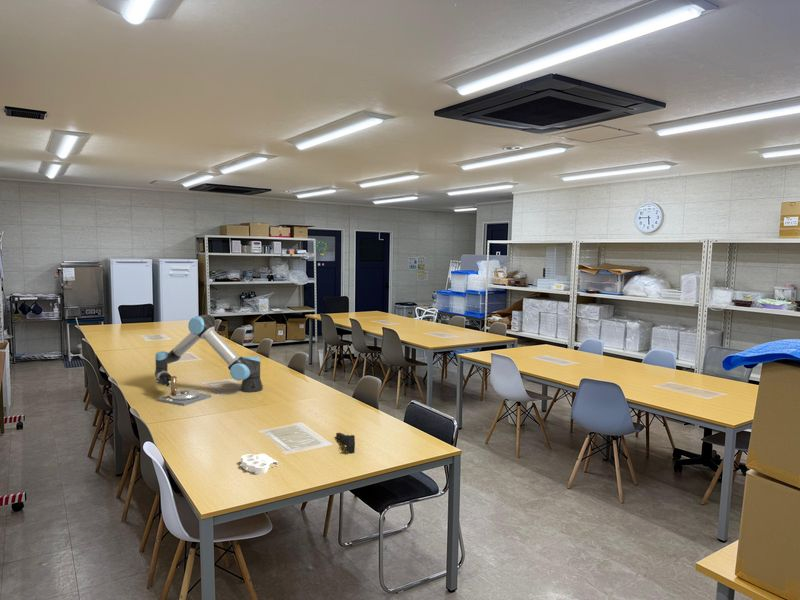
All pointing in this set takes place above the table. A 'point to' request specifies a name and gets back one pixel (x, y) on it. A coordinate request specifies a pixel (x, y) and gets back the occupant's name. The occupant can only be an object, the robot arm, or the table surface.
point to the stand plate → (184, 402)
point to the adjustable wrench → (347, 441)
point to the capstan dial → (181, 392)
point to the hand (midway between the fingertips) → (171, 385)
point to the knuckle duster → (257, 463)
